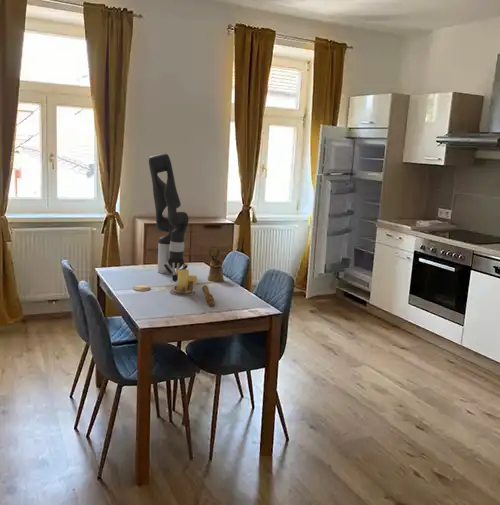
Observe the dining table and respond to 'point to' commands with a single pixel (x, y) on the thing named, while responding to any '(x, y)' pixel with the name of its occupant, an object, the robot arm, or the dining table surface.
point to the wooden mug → (215, 266)
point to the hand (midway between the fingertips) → (174, 281)
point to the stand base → (182, 294)
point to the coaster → (141, 288)
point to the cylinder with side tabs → (185, 279)
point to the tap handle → (208, 296)
